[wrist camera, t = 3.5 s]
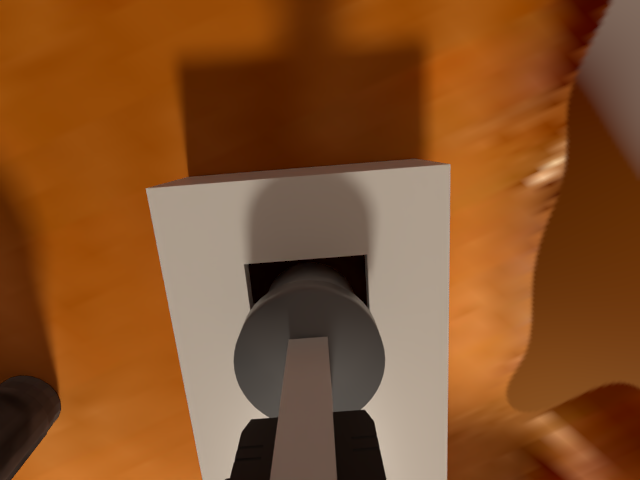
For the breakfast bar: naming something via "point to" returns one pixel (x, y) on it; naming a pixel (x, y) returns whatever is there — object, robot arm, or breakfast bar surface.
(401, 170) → the plunger panel
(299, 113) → the breakfast bar surface
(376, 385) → the charcoal plunger
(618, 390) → the breakfast bar surface
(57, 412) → the beverage cup
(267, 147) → the breakfast bar surface
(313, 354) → the robot arm
